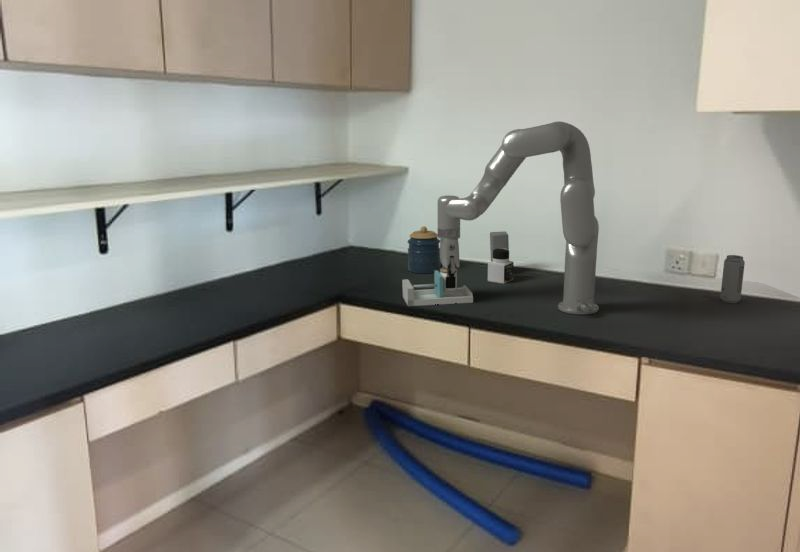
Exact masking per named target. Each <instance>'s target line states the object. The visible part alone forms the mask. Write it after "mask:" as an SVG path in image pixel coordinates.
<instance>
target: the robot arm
mask: <svg viewBox="0 0 800 552" xmlns="http://www.w3.org/2000/svg"><path fill="white" fill-rule="evenodd" d="M556 152H560V153H561V156H562V168H563V178H564V179H563V180H564V181H563V182H564V183H563V184H564V185H563V187H562V189H561V191H560V199H559V200H560V211H561V224H562V233H563V237H564V239H565V255H564V256H565V257H564V272H563V273H564V274H563V276H564V277H563V298H562V300H563V301H560V302H559V303H558V305H557V309H558V310H560V311H561V312H563V313H565V314H570V315H592V314H595V313H598V312H599V311H600V310H599V305H598V304H597V303H595V287H596V268H597V254H598V241H599V233H600V232H599V231H600V229H599V228H600V226H599V221H598V219H597V217H596V215H595V203H594V202H595V201H594V198H595V194H596V189H595V184H594V183H595V182H594V176H593V165H592V164H593V163H592V154H591V149H590V143H589V141H588V139H587V137H586V136H585V134H584V133H583V132H582V130H581V129H579V128H578V127H576V126H575V125H573V124H572V123H571V124H570V123H568V122H565V121H554V122H550V123H549V122H548V123H546V124H541V125H538V126H532V127H526V128H517V129H514V130H513V129H512V130H510V131H509V132H507V133H506V134H505V135H504V137H503V139H502V141H501V145H500V146H499V148H498V150H497V151H496V152H495V154H494V155H492V158H491V159H489V161H488V163H487V164H486V165H485V169H484V174H483V175H482V177H481V179H480V181H479V182H478V184H477V185H476V187H475V188H474V189H473V191H472V192H471V193H470V194H469V195H468V196H466V197H462V198H461V197H459V196H457V195H441V196H440V197H438V199H437V234H438V237H437V238H438V239H439V240H440V243H439V248H440V265H441V266H442V267H441V268H443V267H445V268H446V271H447V277H446V288H455V287H456V275H455V268H457V269H459V268H460V265H461V264H460V245H459V239H460V238H461V220H463V221H469V222H470V221H474V220H476V219H477V218H479V217H480V216H481V215H483V214H484V213H485V212H486V211H487V210H488V209H489V207H490V206H491V204H492V203H493V202H494V201H495V200H496V198H497V197H498V195H499V194H500V193H501V191H502V190H503V188H504V187H506V186H507V184H508V182H510V180H511V178H512V177H513V175H514V174H515V173H516V171H517V170H518V168H519V167H520V166H521V164H523V162H524V161H525V159H526V158H529V157H534V156H540V155H546V154H551V153H556ZM450 269H451V270H450ZM449 270H450V271H449Z"/></svg>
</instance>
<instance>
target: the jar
mask: <svg viewBox="0 0 800 552" xmlns="http://www.w3.org/2000/svg"><path fill="white" fill-rule="evenodd" d="M450 270H451V269H450ZM450 270H449V271H450ZM439 273H440V274H441V275H442V276H443V291H446V292H452V291H456V290H457V288H458V268H457V267H455V275H456V287H455V288H446V277H447V271H446V268H445V267H443V268H442V267H440V270H439Z"/></svg>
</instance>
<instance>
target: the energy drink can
mask: <svg viewBox="0 0 800 552" xmlns="http://www.w3.org/2000/svg"><path fill="white" fill-rule="evenodd" d="M744 272H745V260H744V256H743V255H742V256H741V255H738V254H737V255H736V254H730V255H729V254H728V255H726V258H725V259H724V260H723V270H722V277H721V278H722V279H721V288H720V297H719V298H720V299H721V301H722V302H723V303H728V304H738V303H739V301H740V300H741V299H742V298H741V297H742V291H743V281H744Z"/></svg>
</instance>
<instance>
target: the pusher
mask: <svg viewBox="0 0 800 552" xmlns="http://www.w3.org/2000/svg"><path fill="white" fill-rule="evenodd" d="M433 274H434V278H433V280H434V283H426V284H412V286H413V288H414V289H418V288H422V289H423V288H433V289H434V293H435V295H436V296H437V297H438V298H443V276H442V275H441V274H440V270H439V271H438V270H437V271H434V273H433Z"/></svg>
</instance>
